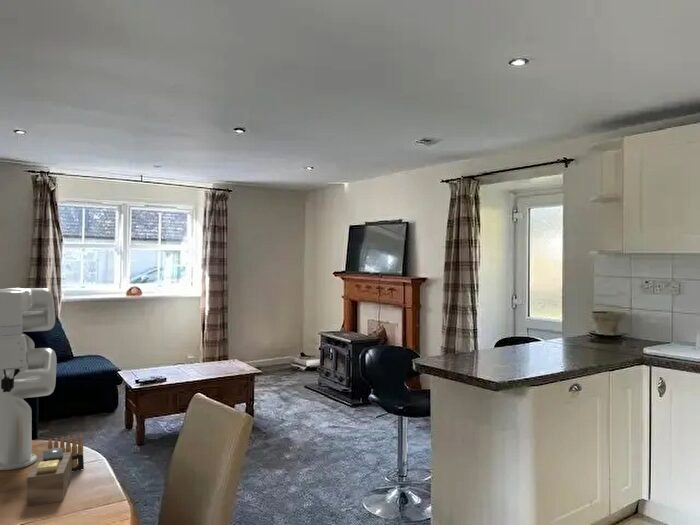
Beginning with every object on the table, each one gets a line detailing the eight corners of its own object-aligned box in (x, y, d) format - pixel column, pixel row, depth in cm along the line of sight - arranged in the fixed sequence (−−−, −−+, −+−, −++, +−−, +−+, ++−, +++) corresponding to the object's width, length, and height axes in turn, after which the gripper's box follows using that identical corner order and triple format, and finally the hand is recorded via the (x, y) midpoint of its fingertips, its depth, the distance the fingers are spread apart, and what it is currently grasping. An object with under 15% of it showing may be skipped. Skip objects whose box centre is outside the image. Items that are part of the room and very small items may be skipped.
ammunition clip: (46, 477, 167) (46, 439, 167) (46, 475, 168) (46, 437, 168) (83, 469, 173) (84, 433, 173) (83, 467, 174) (83, 431, 174)
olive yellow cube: (40, 477, 154) (40, 461, 154) (59, 475, 156) (59, 459, 156) (36, 484, 149) (36, 468, 149) (56, 481, 151) (56, 465, 151)
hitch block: (39, 480, 164) (39, 455, 164) (71, 476, 167) (71, 451, 167) (27, 506, 147) (27, 477, 147) (63, 500, 150) (63, 473, 150)
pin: (41, 486, 157) (41, 455, 157) (44, 479, 162) (44, 449, 162) (61, 484, 159) (61, 452, 159) (64, 477, 164) (64, 447, 164)
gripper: (-26, 333, 153) (-26, 396, 153) (33, 331, 159) (33, 392, 159) (-18, 330, 160) (-18, 390, 160) (38, 328, 166) (38, 386, 166)
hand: (7, 391), depth 160 cm, fingers closed
